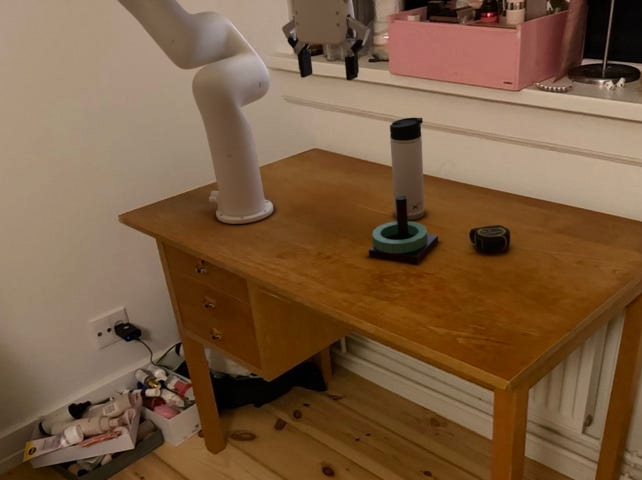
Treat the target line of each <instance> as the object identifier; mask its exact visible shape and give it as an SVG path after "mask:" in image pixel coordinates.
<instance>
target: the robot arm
mask: <svg viewBox="0 0 642 480" xmlns="http://www.w3.org/2000/svg"><path fill="white" fill-rule="evenodd" d="M117 2H118V3H119V4H120V5H121V6H122V7H123V8H124V9H125V10H127V12H128V13H130V15H132V17H133V18H134V19H135V20H136V21H137V22H138V23H139V24H140V25H141V26H142V27H143V29H144V30H145V31H146V33H147V34H148V35H149V37H151V39H152V40H153V41H154V42H155V43H156V45H157V46H158V47H159V48H160V50H161V51H162V52H163V53H164V54H165V55H166V57H168V59H169V60H170V61H171V62H172V63H173V64H174V65H175V66H177V67H178V68H179V69H181V70H193V69H198V68H199V70H197V72H196V73H195V74H194V76H193V79H192V83H191V91H192V95H193V98H194V101H195V104H196V106H197V108H198V109H197V110H198V111H199V113H200V116H201V119H202V122H203V125H204V130H205V133H206V138H207V139H206V140H207V143H208V147H209V151H210V157H211V161H212V162H211V163H212V166H213V171H214V176H215V181H216V185H217V190H212V191H211V192H210V196H209V197H208V201H209V203H212V204H217V209H216V210H215V215H216V218H217V220H218V221H220V222H221V223H225V224H231V225H236V224H237V225H241V224H242V225H243V224H249V223H254V222H257V221H260V220H263V219H265V218H267V217H269V216H270V215H271V214H272V213H273V212H274V206H273V205H274V204H273V203H272V202H271V201H270V200H268V199H266V198H265V194H264V188H263V187H264V186H263V181H262V176H261V170H260V165H259V159H258V153H257V152H258V151H257V146H256V141H255V136H254V131H253V127H252V125H251V123H250V122H249V120H248V118H247V116H246V115H245V113H244V112H243V110H242V108H243V107H245V106H247V105H250V104H252V103H254V102H256V101H258V100H261V99H262V98H264V97H265V96H266V95H267V93H269V90H270V86H271V77H270V73H269V70H268V68H267V66H266V64H265V63H264V61H263V60H262V58H261V57H260V56H259V53H257V52H256V50H255V49H253V47H252V45H250V44H249V42H248V41H247V40H246V38H245V37H244V36H243V35H242V33H240V31H239V30H238V29H237V28H236V26H235V25H234V24H233V23H232V22H231V21H230V19H228V18H227V17H225V15H223V14H220V13H219V12H215V11H202V12H197V13H190V12H188V11H187V10H185V8H183V6H181V4H180V3H179V2H178V1H177V0H117ZM293 6H294V7H293V8H294V10H293V11H294V18H293V19H291V20H290V21H289V22H287V23H286V24H284V25H282V27H281V30H282V32H283V34H284V37H285V38H286V39H287V43H288V45H289V46H290V47H291V48H292V49H293V53H294V54H295V55H296V57H297V63H298V70H299V75H300V78H304V79H305V78H306V77H309V76H311V75H313V74H314V73H313V63H312V54H311V51H310V50H308V49H309V47H310V46H311V45H325V46H327V45H329V46H340V47H341V48H342V50H343V51H344V52H345V53H346V56H345V57H344V69H345V79H346V80H347V81H353V80H354V79H356V78H358V76H359V72H360V67H359V54H360V53H361V50H362V49H363V48H364V47H365V46H366V43H367V40H368V38H369V34H370V32H371V31H370V28H369V27H368V26H366V24H363V23H362V22H360V21H359V20H357V19H356V18H355V12H354V11H355V10H354V4H353V0H293ZM295 32H296V34H295ZM356 36H357V39H356V40H355V38H356ZM200 67H201V68H200Z"/></svg>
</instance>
